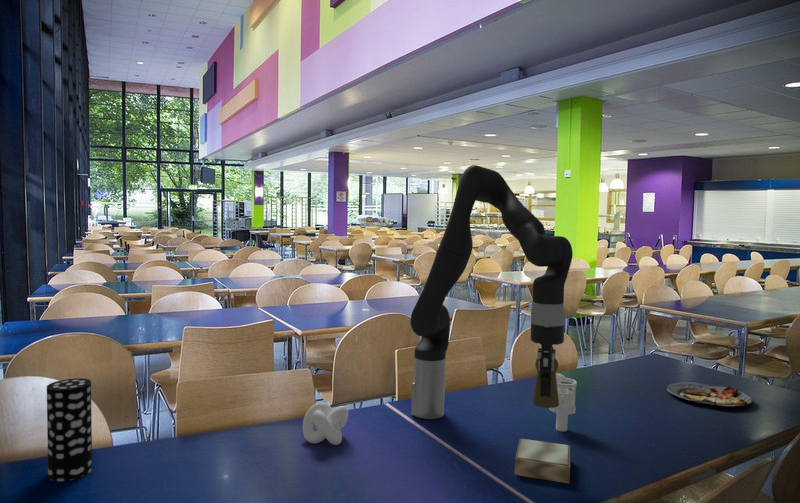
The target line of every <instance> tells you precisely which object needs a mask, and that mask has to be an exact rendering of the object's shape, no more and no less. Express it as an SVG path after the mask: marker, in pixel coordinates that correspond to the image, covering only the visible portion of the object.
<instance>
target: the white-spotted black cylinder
mask: <svg viewBox="0 0 800 503" xmlns="http://www.w3.org/2000/svg"><path fill="white" fill-rule="evenodd" d="M46 418H47V419H46V425H47V427H46V428H47V430H46V431H47V436H46V437H47V478H48V479H49V480H50V481H53V482H68V481H73V480H77V479H79V478H83V477H84V476H87V475H88V474H89V473H90V472H92V470H93V440H92V439H93V437H92V436H93V435H92V432H93V430H92V423H93V422H92V381H91V380H90V379H88V378H80V377H79V378H67V379H62V380H56V381H53V382H51V383H48V384H47V386H46Z"/></svg>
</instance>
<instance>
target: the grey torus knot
mask: <svg viewBox="0 0 800 503" xmlns="http://www.w3.org/2000/svg"><path fill="white" fill-rule="evenodd" d="M349 413H350V412H349V410H348V408H347V407H346V406H341V405H340V406H337V407H335V408H334V409H333V408H332V407H331V406H330V405H329V404H328V403H327V402H317V403H314V404H313V405H311V406H310V407H309V408H308V409H307V411H306V413H305V415H304V417H303V421H302V433H303V436H304V438H305V440H306V442H308V443H311V444H318V443H321V442H323V441H324V440H325V439H327V441H328V442H329V443H330V444H331V445H333V446H339V445H340V444H341V443H342V441H343V435H342V431H341V430H342V428H343V427H344V426H345V425H346V423H347V421H348V419H349V415H350V414H349Z"/></svg>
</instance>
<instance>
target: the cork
mask: <svg viewBox="0 0 800 503" xmlns="http://www.w3.org/2000/svg"><path fill="white" fill-rule="evenodd" d="M551 360H552V358H551ZM538 362H539V358H538V357H537V358H536V360H535V364H534V366H535V370H536V371H537V372H536V378H535V383H534V384H535V385H534V391H533V397H532V402H531V403H532V404H533V405H535V406H537V407H540V408H545V409H549V408H555V407H558V406H559V399H558V390H557V381H556V374H557V371H558V369H559V362H558V359H556V358H555V359H554V371H553V372H552V373H551V378H552V381H551V388H550V398H548V396H543V397H541V396H540V389H541V381H540V379H539V377H540V371H539V370H538ZM551 366H552V362H551ZM543 376H549V374H548V373H543Z"/></svg>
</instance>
